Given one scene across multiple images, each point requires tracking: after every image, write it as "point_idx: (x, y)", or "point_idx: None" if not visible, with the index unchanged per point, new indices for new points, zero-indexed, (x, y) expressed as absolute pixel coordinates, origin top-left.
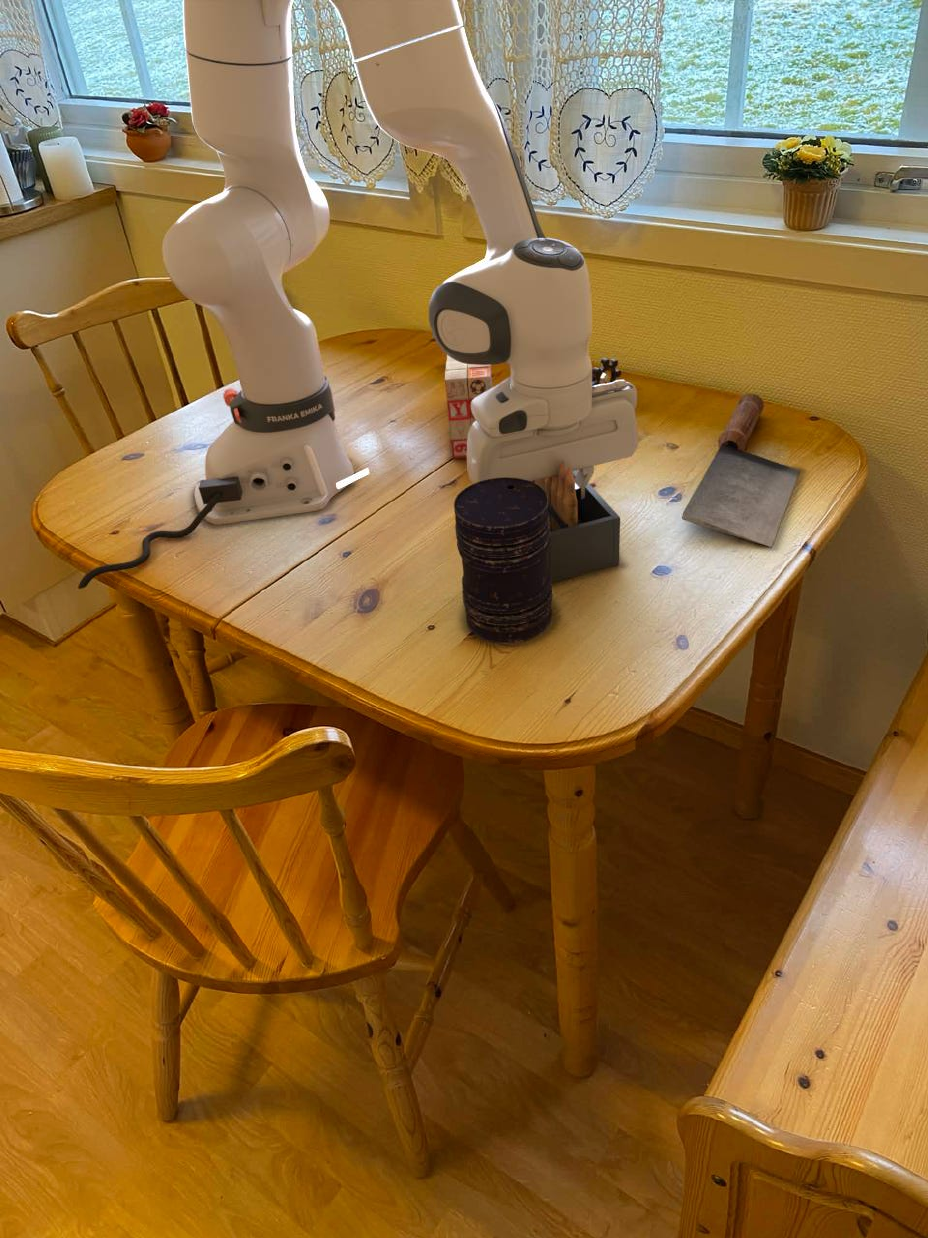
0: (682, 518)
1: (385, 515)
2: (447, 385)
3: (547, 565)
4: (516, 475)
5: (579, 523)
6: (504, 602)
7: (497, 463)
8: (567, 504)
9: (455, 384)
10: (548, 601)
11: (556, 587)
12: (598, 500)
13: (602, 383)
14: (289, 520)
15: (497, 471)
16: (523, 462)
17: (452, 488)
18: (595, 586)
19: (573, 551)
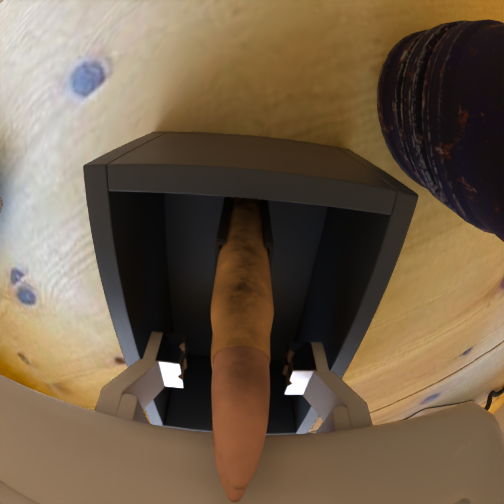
0: (1, 203)
1: (393, 397)
2: None
3: (501, 35)
4: (413, 452)
5: (220, 235)
6: None
7: (472, 482)
8: (267, 302)
9: None
10: (445, 24)
11: (330, 127)
12: (120, 295)
13: None
14: (446, 400)
15: (468, 459)
16: (395, 498)
17: None
18: (247, 80)
19: (283, 152)
